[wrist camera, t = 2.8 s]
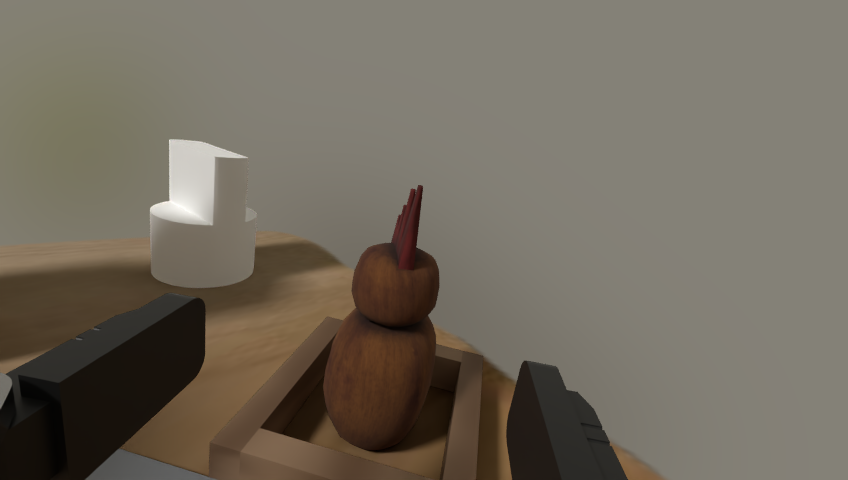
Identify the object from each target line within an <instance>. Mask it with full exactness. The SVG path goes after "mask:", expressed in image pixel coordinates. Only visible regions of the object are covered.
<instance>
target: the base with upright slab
mask: <svg viewBox="0 0 848 480" xmlns="http://www.w3.org/2000/svg"><path fill="white" fill-rule="evenodd" d="M248 159H249V158H247V157H245V156H242V155H239V154H236V153H233V152H230V151H227V150H224V149H222V148H218V147H216V146H213V145H210V144H207V143H204V142H200V141H189V140H173V139H170V140H169V175H170V176H169V177H170V178H169V179H170V180H169V187H170V188H169V190H170V201H167V202H162V203H159V204H156V205H154V206H152V207H151V208H150V242H151V274H152V275H153V277H154V278H155V279H157V280H159V281H161V282H163V283H166V284H170V285H173V286H179V287H186V288H212V287H221V286H227V285H231V284H234V283H238V282H241V281H243V280H245V279H247V278H248V277H249V276H250V275H251V274H252V273H253V270H254V256H255V240H256V223H257V214H256V212H255V211H254V210H252V209H250V208H248V207H246V200H247V181H248V161H249V160H248Z"/></svg>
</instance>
